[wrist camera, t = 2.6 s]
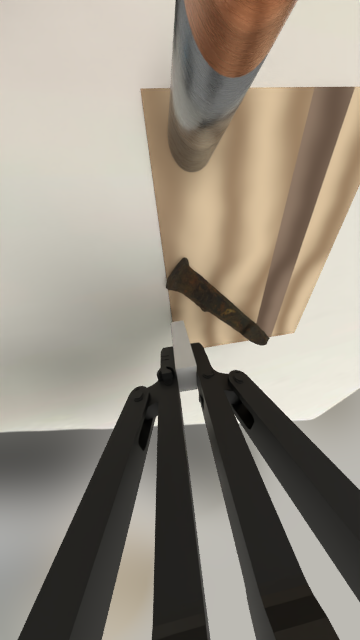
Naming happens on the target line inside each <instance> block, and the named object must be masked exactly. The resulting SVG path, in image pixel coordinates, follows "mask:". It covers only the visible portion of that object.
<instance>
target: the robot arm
mask: <svg viewBox="0 0 360 640" xmlns="http://www.w3.org/2000/svg"><path fill="white" fill-rule="evenodd" d="M171 332H172V341H173V347H167V348H163V349H162V351H161V368H160V369H159V370H158V372H157V377H158V381H157V382H156V383H155V384H154V385H152V386H150V387H148V388H146V387H144V386H139V387H137V388H135V389H134V390H133V391H132V392H131V393H130V395H129V397H128V399H127V401H126V403H125V406H124V408H123V410H122V412H121V414H120V417H119V419H118V421H117V423H116V425H115V428H114V430H113V432H112V434H111V436H110V438H109V441H108V443H107V445H106V447H105V450H104V452H103V454H102V456H101V458H100V460H99V463H98V465H97V467H96V469H95V471H94V474H93V476H92V478H91V480H90V482H89V485H88V487H87V489H86V492H85V493H84V495H83V498H82V500H81V502H80V505H79V506H78V509H77V511H76V513H75V515H74V517H73V520H72V522H71V524H70V526H69V528H68V531H67V533H66V535H65V537H64V539H63V542H62V544H61V546H60V548H59V550H58V553H57V555H56V557H55V559H54V561H53V563H52V566H51V568H50V570H49V573H48V574H47V577H46V579H45V581H44V583H43V585H42V588H41V590H40V592H39V594H38V596H37V599H36V601H35V603H34V605H33V607H32V610H31V612H30V614H29V616H28V618H27V621H26V623H25V625H24V627H23V630H22V631H21V634H20V636H19V638H18V640H101V639H102V636H103V631H104V627H105V623H106V619H107V615H108V611H109V607H110V602H111V599H112V594H113V590H114V586H115V582H116V578H117V573H118V570H119V566H120V562H121V557H122V553H123V549H124V545H125V541H126V537H127V533H128V528H129V524H130V520H131V516H132V512H133V508H134V504H135V500H136V496H137V492H138V487H139V483H140V479H141V475H142V471H143V467H144V463H145V459H146V454H147V451H148V446H149V442H150V438H151V434H152V430H153V426H154V422H155V418H156V416H158V441H157V481H156V521H155V522H156V523H155V525H156V526H155V563H154V564H155V565H154V603H153V630H152V640H210V634H209V626H208V618H207V610H206V603H205V595H204V587H203V579H202V571H201V564H200V554H199V546H198V538H197V531H196V522H195V513H194V505H193V498H192V489H191V481H190V473H189V464H188V456H187V450H186V440H185V432H184V423H183V415H182V407H181V399H180V392H182V391H188V390H194V389H197V387H198V391H199V402H200V403H201V407H202V411H203V415H204V419H205V423H206V427H207V431H208V435H209V439H210V443H211V447H212V451H213V456H214V459H215V464H216V468H217V472H218V476H219V480H220V484H221V488H222V492H223V497H224V500H225V505H226V508H227V513H228V517H229V521H230V525H231V529H232V533H233V537H234V541H235V546H236V550H237V554H238V557H239V562H240V566H241V570H242V574H243V578H244V583H245V587H246V594H247V600H248V605H249V610H250V614H251V619H252V623H253V627H254V631H255V636H256V640H339V638H338V636H337V634H336V632H335V630H334V628H333V627H332V625H331V623H330V621H329V619H328V617H327V616H326V614H325V613H324V611H323V609H322V608H321V606H320V604H319V603H318V601H317V600H316V598H315V597H314V595H313V593H312V591H311V589H310V587H309V586H308V583H307V581H306V579H305V577H304V575H303V573H302V570H301V568H300V566H299V563H298V561H297V559H296V556H295V554H294V552H293V549H292V547H291V545H290V543H289V540H288V538H287V536H286V533H285V531H284V529H283V526H282V524H281V522H280V519H279V517H278V515H277V513H276V510H275V508H274V505H273V503H272V501H271V498H270V496H269V494H268V491H267V489H266V487H265V485H264V482H263V480H262V478H261V475H260V473H259V471H258V468H257V466H256V464H255V461H254V459H253V457H252V455H251V452H250V450H249V448H248V445H247V443H246V441H245V438H244V436H243V434H242V431H241V429H240V427H239V424H238V422H237V420H236V417H237V419H238V420H239V422H240V423H241V425H242V426H243V428H244V429H245V431H246V432H247V434H248V435H249V437H250V438H251V440H252V441H253V443H254V444H255V446H256V447H257V449H258V450H259V452H260V453H261V455H262V456H263V458H264V459H265V461H266V462H267V464H268V465H269V467H270V468H271V470H272V471H273V473H274V474H275V476H276V477H277V479H278V480H279V482H280V483H281V485H282V486H283V488H284V489H285V491H286V492H287V494H288V495H289V497H290V498H291V500H292V501H293V503H294V504H295V506H296V507H297V509H298V510H299V512H300V513H301V515H302V516H303V518H304V519H305V521H306V522H307V524H308V525H309V527H310V528H311V530H312V531H313V533H314V534H315V536H316V537H317V539H318V540H319V542H320V543H321V544H322V546H323V547H324V549H325V551H326V552H327V554H328V555H329V557H330V558H331V560H332V561H333V563H334V564H335V566H336V567H337V569H338V570H339V572H340V573H341V575H342V576H343V578H344V579H345V581H346V582H347V584H348V585H349V587H350V588H351V590H352V591H353V592H354V594H355V595H356V597H357V599H358V600H359V602H360V490H359V489H358V488H357V487H356V486H355V485H354V484H353V483H352V482H351V481H350V480H349V479H348V478H347V477H346V476H345V475H344V474H343V473H342V472H341V471H340V470H339V469H338V468H337V467H336V466H335V464H334V463H333V462H331V460H330V459H329V458H328V457H327V456H326V455H325V454H324V453H323V452H322V451H321V450H320V449H319V448H318V447H317V446H316V445H315V444H314V443H313V442H312V441H311V440H310V439H309V438H308V437H307V436H306V435H305V434H304V433H303V432H302V431H301V430H300V429H299V428H298V427H297V426H296V425H295V424H294V423H293V422H292V421H291V420H290V419H289V418H288V417H287V416H286V415H285V414H284V413H283V412H282V411H281V410H280V409H279V408H278V407H277V405H276V404H275V403H274V402H273V401H272V400H271V399H270V398H269V397H268V396H267V395H266V394H265V393H264V392H263V391H262V390H261V389H260V388H259V387H258V386H257V385H256V384H255V383H254V382H253V381H252V380H251V379H250V378H249V377H248V376H247V375H246V374H245V373H243V372H241V371H238V370H233V371H231V372H230V373H229V374H224V373H219V372H217V371H215V370H214V369H213V368H212V367H211V365H210V362H209V360H208V357H207V355H206V353H205V350H204V348H203V345H201V344H200V343H199V342H198V343H191V344H190V341H189V338H188V335H187V331H186V328H185V324H184V321H176V322H171ZM234 414H235V415H234ZM235 416H236V417H235Z"/></svg>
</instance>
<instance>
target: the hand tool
mask: <svg viewBox="0 0 360 640" xmlns="http://www.w3.org/2000/svg"><path fill="white" fill-rule="evenodd" d="M166 288H167V289H168V290H173V291H176V292H180V293H182V294H184V295H185V296H186V297H188V298H189V299H190V300H191V301H193V302H194V303H195V304H196V305H197V306H199V307H200V308H201V310H202V311H204V312H209V313H211V314H213V315H214V316H216V317H217V318H218V319H220V320H221V321H223V322H224V323H226V324H227V325H229V326H230V327H232V328H233V329H234V330H236V331H237V332H239V333H240V334H241V335H242V336H244V337H245V338H246V339H248V340H249V341H251V342H254V343H255V344H258V345H266V344H267V341H268V340H269V337H268V336H267V334H266V333H265V332H264V331H263V330H262V329H261V328H260V327H259V326H258V325H257V324H256V323H255V322H254V321H252V320H251V319H250V318H249V317H248V316H246V315H245V314H244V313H243V312H242V311H240V309H238V308H237V307H236V306H235V305H234V304H233V303H232V302H231V301H230V300H228V299H227V298H226V297H225V296H224V295H223V294H221V293H220V292H219V291H218V290H217V289H216V288H215V287H214V286H212V285H211V284H210V283H209V282H208V281H207V280H206V279H204V278H203V277H202V276H201V275H200V274H198V273H197V272H195V271H194V270H193V269H192V268H191V267H190V266H189V261H188V259H187V258H185V257H184V258H182V259H181V260H180V262H179V263H178V264H177V265H176V267H175V268H174V269H173V271H172V272H171V274H170V275H169V277H168V280H167V284H166Z"/></svg>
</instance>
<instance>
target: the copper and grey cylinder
mask: <svg viewBox="0 0 360 640" xmlns="http://www.w3.org/2000/svg"><path fill="white" fill-rule="evenodd" d="M297 1H298V0H176V5H175V21H174V37H173V53H172V68H171V84H170V100H169V116H168V143H169V148H170V151H171V154H172V156H173V158H174V160H175V162H176V163H177V164H178V166H179V167H180V168H182V169H183V170H185V171H187V172H197V171H199V170H201V169H202V168H204V167H205V166H206V164H207V163H208V162H209V160H210V158H211V156H212V154H213V153H214V151H215V149H216V147H217V145H218V144H219V142H220V140H221V138H222V136H223V134H224V133H225V131H226V129H227V127H228V125H229V124H230V122H231V120H232V118H233V116H234V115H235V113H236V111H237V109H238V107H239V106H240V104H241V102H242V100H243V98H244V96H245V95H246V93H247V91H248V89H249V87H250V86H251V84H252V82H253V80H254V78H255V77H256V75H257V73H258V71H259V69H260V67H261V66H262V64H263V62H264V60H265V58H266V57H267V55H268V53H269V51H270V49H271V48H272V46H273V44H274V42H275V40H276V39H277V37H278V35H279V33H280V31H281V29H282V28H283V26H284V24H285V22H286V20H287V19H288V17H289V15H290V13H291V11H292V10H293V8H294V6H295V4H296V2H297Z"/></svg>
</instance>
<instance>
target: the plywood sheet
mask: <svg viewBox="0 0 360 640" xmlns="http://www.w3.org/2000/svg"><path fill="white" fill-rule="evenodd" d="M141 96H142V103H143V110H144V117H145V125H146V132H147V139H148V147H149V154H150V161H151V168H152V176H153V183H154V190H155V197H156V205H157V212H158V219H159V227H160V234H161V241H162V248H163V256H164V263H165V270H166V278H167V280H168V277H169V275H170V274H171V272H172V271H173V269H174V268H175V267H176V265H177V264H178V263H179V262H180V260H181V259H182V258H184V257H185V258H187V259H188V261H189V266H190V267H191V268H192V269H193V270H194V271H195V272H197V273H198V274H200V275H201V276H202V277H203V278H204V279H206V280H207V281H208V282H209V283H210V284H211V285H212V286H214V287H215V288H216V289H217V290H218V291H219V292H220V293H221V294H223V295H224V296H225V297H226V298H227V299H228V300H230V301H231V302H232V303H233V304H234V305H235V306H236V307H237V308H238V309H240V311H242V312H243V313H244V314H245V315H246V316H248V317H249V318H250V319H251V320H252V321H254V322H255V323H256V324H257V325H258V326H259V327H260V328H261V329H262V330H263V331H264V332H265V333H266V334H267V336H268V337H272V336H278V335H284V334H290V333H294V332H295V330H296V328H297V325H298V323H299V321H300V318H301V316H302V314H303V312H304V309H305V307H306V305H307V303H308V300H309V298H310V296H311V294H312V291H313V289H314V287H315V285H316V282H317V280H318V278H319V275H320V273H321V271H322V269H323V266H324V264H325V262H326V260H327V257H328V255H329V253H330V251H331V248H332V246H333V244H334V242H335V239H336V237H337V235H338V233H339V230H340V228H341V226H342V223H343V221H344V219H345V217H346V214H347V212H348V210H349V208H350V205H351V203H352V201H353V199H354V196H355V194H356V192H357V190H358V187H359V185H360V87H276V88H249V89H248V91H247V93H246V95H245V96H244V98H243V100H242V102H241V104H240V106H239V107H238V109H237V111H236V113H235V115H234V116H233V118H232V120H231V122H230V124H229V125H228V127H227V129H226V131H225V133H224V134H223V136H222V138H221V140H220V142H219V144H218V145H217V147H216V149H215V151H214V153H213V154H212V156H211V158H210V160H209V162H208V163H207V164H206V166H205V167H204V168H202V169H201V170H199V171H197V172H187V171H185V170H183V169H182V168H180V167H179V166H178V164H177V163H176V162H175V160H174V158H173V156H172V154H171V151H170V148H169V143H168V116H169V100H170V88H154V89H141ZM168 292H169V299H170V307H171V314H172V321H173V322H176V321H184V324H185V328H186V331H187V335H188V338H189V341H190V344H191V343H198V342H199V343H200V344H201V345H203V348H206V347H212V346H218V345H224V344H230V343H236V342H242V341H248V339H246V338H245V337H244V336H242V335H241V334H240V333H239V332H237V331H236V330H234V329H233V328H232V327H230V326H229V325H227V324H226V323H224V322H223V321H221V320H220V319H218V318H217V317H216V316H214V315H213V314H211V313H209V312H204V311H202V310H201V308H200V307H199V306H197V305H196V304H195V303H194V302H193V301H191V300H190V299H189V298H188V297H186V296H185V295H184V294H182V293H180V292H176V291H173V290H168Z"/></svg>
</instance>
